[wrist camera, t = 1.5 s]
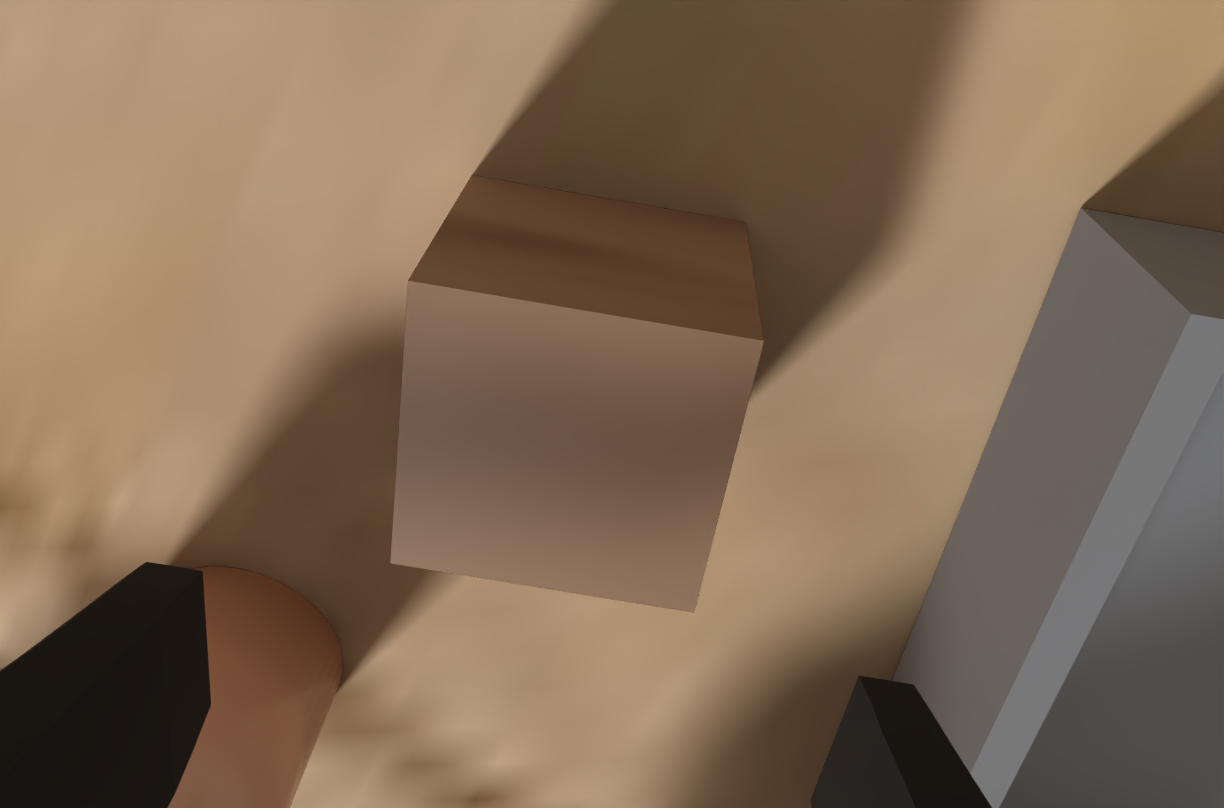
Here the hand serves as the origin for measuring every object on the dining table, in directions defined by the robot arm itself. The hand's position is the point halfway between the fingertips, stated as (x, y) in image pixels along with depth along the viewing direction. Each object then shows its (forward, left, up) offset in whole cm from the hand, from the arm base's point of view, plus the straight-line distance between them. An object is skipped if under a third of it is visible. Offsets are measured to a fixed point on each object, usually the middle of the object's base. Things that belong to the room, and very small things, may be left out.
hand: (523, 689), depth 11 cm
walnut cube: (0, 0, -10) cm, 10 cm away
